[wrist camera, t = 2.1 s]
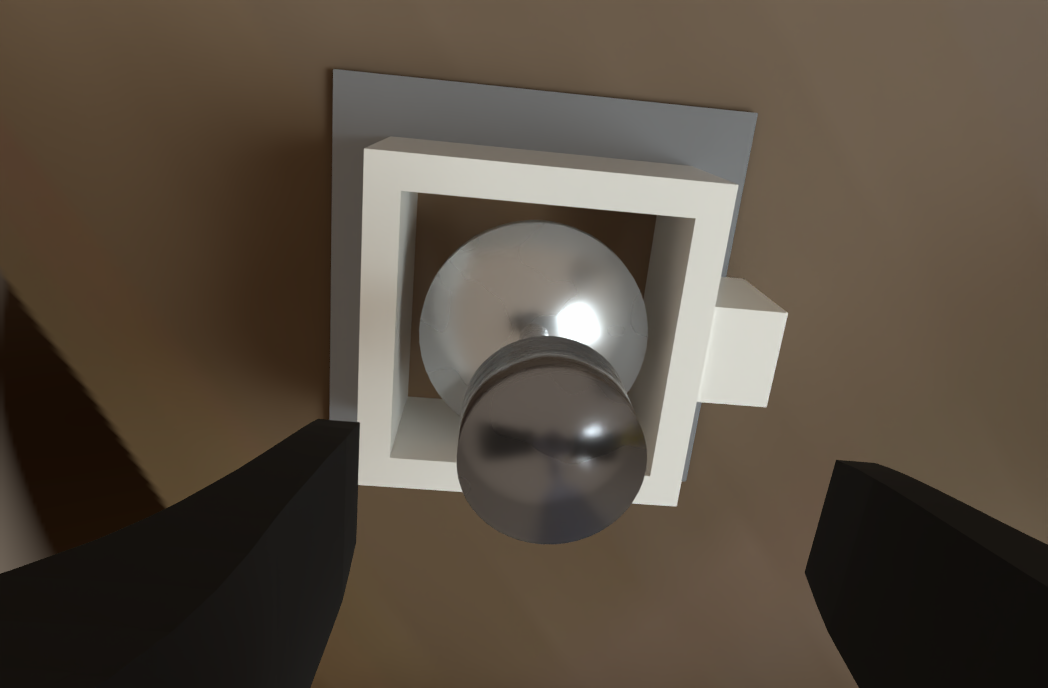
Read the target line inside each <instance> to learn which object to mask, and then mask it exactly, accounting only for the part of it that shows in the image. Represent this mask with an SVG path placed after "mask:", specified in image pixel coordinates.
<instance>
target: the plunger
mask: <svg viewBox="0 0 1048 688" xmlns="http://www.w3.org/2000/svg"><path fill="white" fill-rule="evenodd" d="M647 339H648V321H647V314H646V309H645V304H644V301H643V298H642V295H641V292H640V290H639V288H638V286H637V284H636V282H635V280H634V278H633V276H632V275H631V273H630V272H629V270H628V269H627V268H626V266H625V265H624V263H623V262H622V261H621V260H620V258H619V257H618V256H617V255H616V254H615V253H614V252H613V251H612V250H611V249H610V248H609V247H607V246H606V245H605V244H604V243H603V242H601V241H600V240H598V239H597V238H595V237H594V236H592V235H590V234H589V233H587V232H585V231H582V230H580V229H578V228H576V227H573V226H569V225H566V224H563V223H559V222H553V221H546V220H524V221H514V222H510V223H506V224H502V225H498V226H496V227H493V228H491V229H488V230H485V231H484V232H482V233H480V234H478V235H476V236H474V237H472V238H471V239H470V240H468V241H467V242H465V243H464V244H463V245H461V246H460V247H459V248H458V249H457V250H456V251H455V252H454V253H453V254H452V255H451V256H449V258H448V259H447V260H446V261H445V263H444V264H443V265H442V266H441V268H440V269H439V271H438V272H437V274H436V276H435V277H434V279H433V281H432V283H431V285H430V288H429V290H428V292H427V295H426V298H425V301H424V305H423V308H422V312H421V318H420V326H419V343H420V350H421V356H422V360H423V363H424V366H425V370H426V372H427V374H428V376H429V379H430V381H431V383H432V385H433V386H434V388H435V389H436V391H437V393H438V394H439V395H440V397H441V398H442V399H443V400H444V401H445V403H446V404H447V405H448V406H449V407H450V408H451V409H452V410H453V411H454V412H455V413H456V414H458V415H459V416H460V417H461V422H460V431H459V440H458V448H457V474H458V479H459V483H460V486H461V489H462V491H463V494H464V496H465V498H466V500H467V501H468V503H469V504H470V506H471V507H472V509H473V510H474V511H475V512H476V513H477V515H478V516H479V517H480V518H481V519H483V520H484V521H485V522H486V523H487V524H488V525H490V526H491V527H493V528H494V529H496V530H497V531H499V532H501V533H503V534H505V535H507V536H509V537H512V538H515V539H517V540H521V541H525V542H529V543H537V544H561V543H568V542H573V541H577V540H580V539H583V538H586V537H589V536H591V535H593V534H595V533H598V532H600V531H601V530H603V529H605V528H606V527H608V526H609V525H611V524H612V523H613V522H614V521H616V520H617V519H618V518H619V517H620V516H621V515H622V514H623V513H624V512H625V511H626V510H627V509H628V508H629V506H630V505H631V504H632V502H633V501H634V499H635V497H636V496H637V494H638V492H639V490H640V488H641V485H642V483H643V480H644V476H645V472H646V465H647V447H646V442H645V437H644V434H643V431H642V428H641V426H640V423H639V421H638V419H637V416H636V414H635V411H634V409H633V407H632V404H631V402H630V400H629V397H628V395H627V392H628V391H629V390H630V388H631V387H632V385H633V383H634V381H635V380H636V378H637V376H638V374H639V371H640V369H641V366H642V364H643V361H644V357H645V352H646V348H647Z"/></svg>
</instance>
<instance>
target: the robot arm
mask: <svg viewBox="0 0 1048 688" xmlns="http://www.w3.org/2000/svg"><path fill="white" fill-rule="evenodd" d="M359 438H360V422H350V421H337V420H325V419H317V420H315V421H313V422H311V423H310V424H308V425H306V426H305V427H303V428H301V429H300V430H298V431H297V432H295V433H294V434H292V435H291V436H289V437H288V438H286V439H285V440H283V441H281V442H280V443H278V444H277V445H275V446H274V447H272V448H271V449H269V450H267V451H266V452H264V453H263V454H261V455H260V456H258V457H256V458H255V459H253V460H252V461H250V462H248V463H247V464H245V465H244V466H242V467H241V468H239V469H237V470H236V471H234V472H232V473H230V474H229V475H227V476H225V477H223V478H221V479H220V480H218V481H216V482H214V483H212V484H211V485H209V486H207V487H205V488H204V489H202V490H200V491H198V492H196V493H195V494H193V495H191V496H189V497H187V498H186V499H184V500H182V501H180V502H178V503H176V504H174V505H172V506H170V507H168V508H166V509H164V510H162V511H160V512H158V513H156V514H154V515H152V516H150V517H148V518H145V519H143V520H141V521H139V522H136V523H134V524H132V525H129V526H127V527H125V528H123V529H120V530H118V531H116V532H113V533H111V534H109V535H107V536H104V537H101V538H99V539H97V540H94V541H92V542H89V543H86V544H83V545H81V546H78V547H75V548H72V549H69V550H66V551H64V552H61V553H58V554H55V555H52V556H50V557H47V558H44V559H41V560H38V561H36V562H33V563H30V564H27V565H24V566H22V567H19V568H16V569H13V570H11V571H7V572H4V573H1V574H0V688H310V687H311V684H312V681H313V679H314V676H315V673H316V671H317V668H318V665H319V663H320V660H321V658H322V655H323V652H324V650H325V647H326V644H327V641H328V639H329V636H330V633H331V631H332V628H333V625H334V622H335V620H336V617H337V614H338V612H339V609H340V606H341V603H342V600H343V596H344V592H345V588H346V584H347V579H348V575H349V571H350V567H351V562H352V558H353V553H354V549H355V544H356V529H357V499H358V468H359ZM805 574H806V577H807V580H808V583H809V585H810V588H811V591H812V593H813V596H814V599H815V602H816V604H817V607H818V609H819V611H820V614H821V616H822V619H823V621H824V623H825V626H826V628H827V631H828V633H829V634H830V636H831V638H832V640H833V642H834V644H835V646H836V647H837V649H838V651H839V653H840V655H841V656H842V658H843V660H844V662H845V663H846V665H847V667H848V669H849V671H850V672H851V674H852V676H853V678H854V679H855V681H856V683H857V685H858V686H859V688H1048V545H1047V544H1045V543H1043V542H1041V541H1039V540H1037V539H1035V538H1033V537H1031V536H1028V535H1026V534H1024V533H1022V532H1020V531H1018V530H1016V529H1014V528H1012V527H1010V526H1008V525H1006V524H1004V523H1002V522H1000V521H998V520H996V519H994V518H992V517H990V516H988V515H986V514H985V513H983V512H981V511H979V510H977V509H975V508H973V507H971V506H969V505H967V504H965V503H963V502H961V501H959V500H957V499H955V498H953V497H951V496H949V495H947V494H945V493H943V492H941V491H939V490H937V489H935V488H933V487H931V486H929V485H927V484H924V483H922V482H920V481H918V480H916V479H914V478H912V477H909V476H907V475H905V474H903V473H900V472H898V471H895V470H893V469H890V468H888V467H885V466H882V465H879V464H876V463H868V462H855V461H842V460H836V462H835V466H834V470H833V473H832V477H831V480H830V484H829V487H828V491H827V495H826V498H825V502H824V505H823V509H822V512H821V516H820V520H819V523H818V527H817V530H816V534H815V537H814V541H813V544H812V548H811V552H810V555H809V559H808V562H807V566H806V569H805Z"/></svg>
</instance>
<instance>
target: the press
mask: <svg viewBox="0 0 1048 688" xmlns="http://www.w3.org/2000/svg"><path fill="white" fill-rule="evenodd" d="M757 115H758V113H751V112H742V111H732V110H722V109H713V108H703V107H694V106H684V105H674V104H665V103H655V102H646V101H636V100H626V99H617V98H607V97H598V96H588V95H579V94H569V93H559V92H550V91H540V90H531V89H521V88H511V87H502V86H492V85H483V84H473V83H463V82H454V81H444V80H435V79H425V78H415V77H406V76H396V75H387V74H377V73H367V72H358V71H348V70H339V69H333V129H332V225H331V320H330V416H329V420H337V421H350V422H360V438H359V468H358V485H369V486H383V487H398V488H413V489H428V490H442V491H457V492H463V491H462V489H461V486H460V483H459V479H458V474H457V448H458V440H459V431H460V422H461V417H460V416H459V415H458V414H456V413H455V412H454V411H453V410H452V409H451V408H450V407H449V406H448V405H447V404H446V403H445V401H444V400H443V399H442V398H441V397H440V395H439V394H438V393H437V391H436V389H435V388H434V386H433V385H432V383H431V381H430V379H429V376H428V374H427V372H426V370H425V366H424V363H423V360H422V356H421V350H420V343H419V326H420V318H421V312H422V308H423V305H424V301H425V298H426V295H427V292H428V290H429V288H430V285H431V283H432V281H433V279H434V277H435V276H436V274H437V272H438V271H439V269H440V268H441V266H442V265H443V264H444V263H445V261H446V260H447V259H448V258H449V256H451V255H452V254H453V253H454V252H455V251H456V250H457V249H458V248H459V247H460V246H461V245H463V244H464V243H465V242H467V241H468V240H470V239H471V238H472V237H474V236H476V235H478V234H480V233H482V232H484V231H485V230H488V229H491V228H493V227H496V226H498V225H502V224H506V223H510V222H514V221H524V220H546V221H553V222H559V223H563V224H566V225H569V226H573V227H576V228H578V229H580V230H582V231H585V232H587V233H589V234H590V235H592V236H594V237H595V238H597V239H598V240H600V241H601V242H603V243H604V244H605V245H606V246H607V247H609V248H610V249H611V250H612V251H613V252H614V253H615V254H616V255H617V256H618V257H619V258H620V260H621V261H622V262H623V263H624V265H625V266H626V268H627V269H628V270H629V272H630V273H631V275H632V276H633V278H634V280H635V282H636V284H637V286H638V288H639V290H640V292H641V295H642V298H643V301H644V304H645V309H646V314H647V321H648V339H647V348H646V352H645V357H644V361H643V364H642V366H641V369H640V371H639V374H638V376H637V378H636V380H635V381H634V383H633V385H632V387H631V388H630V390H629V391H628V392H627V395H628V397H629V400H630V402H631V404H632V407H633V409H634V411H635V414H636V416H637V419H638V421H639V423H640V426H641V428H642V431H643V434H644V437H645V442H646V447H647V465H646V472H645V476H644V480H643V483H642V485H641V488H640V490H639V492H638V494H637V496H636V497H635V499H634V501H633V502H632V503H634V504H648V505H663V506H677V502H678V496H679V491H680V486H681V481H686V479H687V473H688V468H689V463H690V458H691V453H692V448H693V443H694V438H695V432H696V427H697V422H698V417H699V412H700V407H701V402H706V403H719V404H732V405H745V406H757V407H767V403H768V399H769V394H770V390H771V385H772V381H773V377H774V372H775V368H776V363H777V359H778V355H779V350H780V346H781V342H782V337H783V333H784V328H785V324H786V320H787V315H788V313H787V312H786V311H785V310H783V309H782V308H781V307H779V306H778V305H777V304H776V303H774V302H773V301H772V300H770V299H769V298H768V297H767V296H765V295H764V294H763V293H761V292H760V291H759V290H758V289H756V288H755V287H754V286H752V285H751V284H750V283H749V282H747V281H746V280H745V279H739V278H728V277H726V274H727V269H728V264H729V258H730V253H731V248H732V243H733V238H734V233H735V228H736V223H737V217H738V212H739V207H740V202H741V197H742V192H743V187H744V182H745V176H746V171H747V166H748V161H749V156H750V151H751V146H752V141H753V135H754V130H755V125H756V120H757Z"/></svg>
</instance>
